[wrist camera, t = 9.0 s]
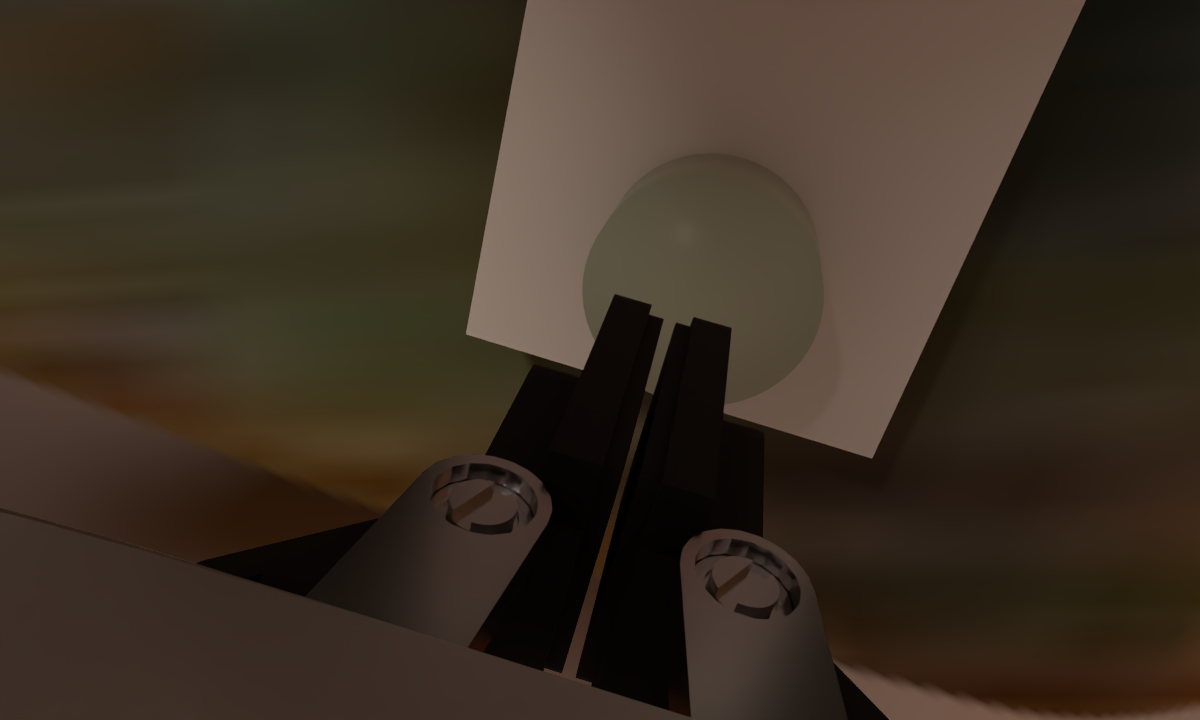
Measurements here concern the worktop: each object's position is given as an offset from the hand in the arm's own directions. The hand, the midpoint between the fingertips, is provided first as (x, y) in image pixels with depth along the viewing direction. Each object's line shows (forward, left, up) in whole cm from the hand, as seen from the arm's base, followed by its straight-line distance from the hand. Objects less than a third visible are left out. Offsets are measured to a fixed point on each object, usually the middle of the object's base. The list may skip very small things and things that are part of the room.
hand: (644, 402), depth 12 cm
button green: (+1, 0, -9) cm, 9 cm away
